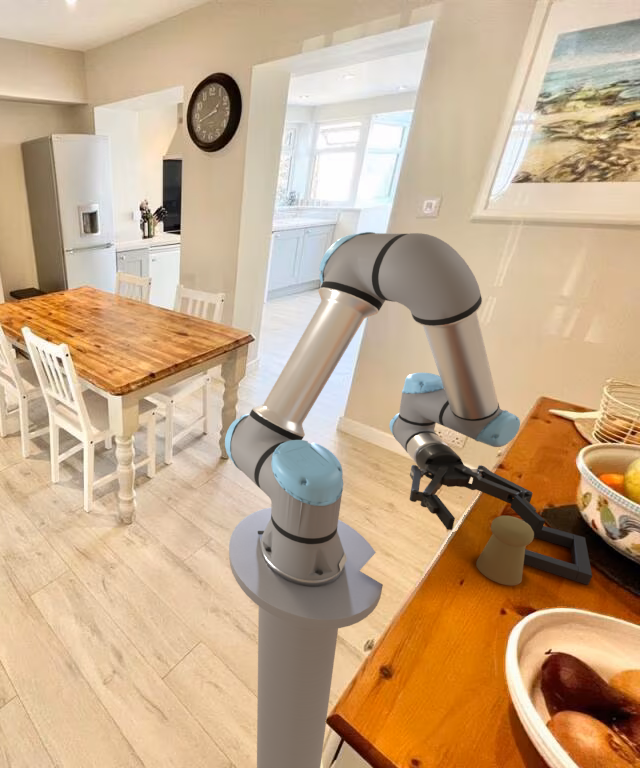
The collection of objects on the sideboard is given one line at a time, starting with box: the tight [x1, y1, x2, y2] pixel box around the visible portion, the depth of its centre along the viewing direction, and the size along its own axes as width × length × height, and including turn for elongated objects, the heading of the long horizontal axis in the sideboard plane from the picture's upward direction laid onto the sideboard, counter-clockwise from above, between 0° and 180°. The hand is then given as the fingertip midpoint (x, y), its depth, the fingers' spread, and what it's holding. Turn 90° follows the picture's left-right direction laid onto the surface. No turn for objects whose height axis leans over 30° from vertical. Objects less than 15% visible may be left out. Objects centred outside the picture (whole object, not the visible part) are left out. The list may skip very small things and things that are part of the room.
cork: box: [475, 515, 535, 586], centre depth 68 cm, size 6×6×11 cm
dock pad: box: [522, 519, 593, 586], centre depth 72 cm, size 10×10×2 cm
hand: (495, 525), depth 71 cm, fingers open, 13 cm apart
